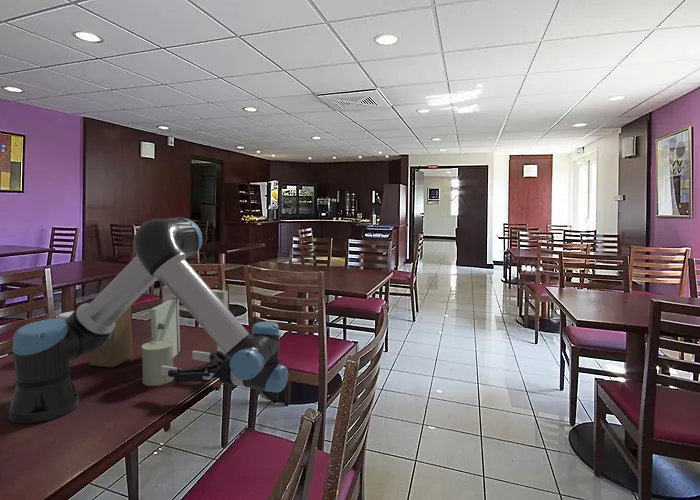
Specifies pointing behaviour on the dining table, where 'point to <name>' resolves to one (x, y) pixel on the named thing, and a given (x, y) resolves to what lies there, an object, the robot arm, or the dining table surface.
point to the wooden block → (115, 344)
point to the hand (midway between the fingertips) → (178, 362)
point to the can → (156, 362)
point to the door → (165, 323)
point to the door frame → (169, 295)
